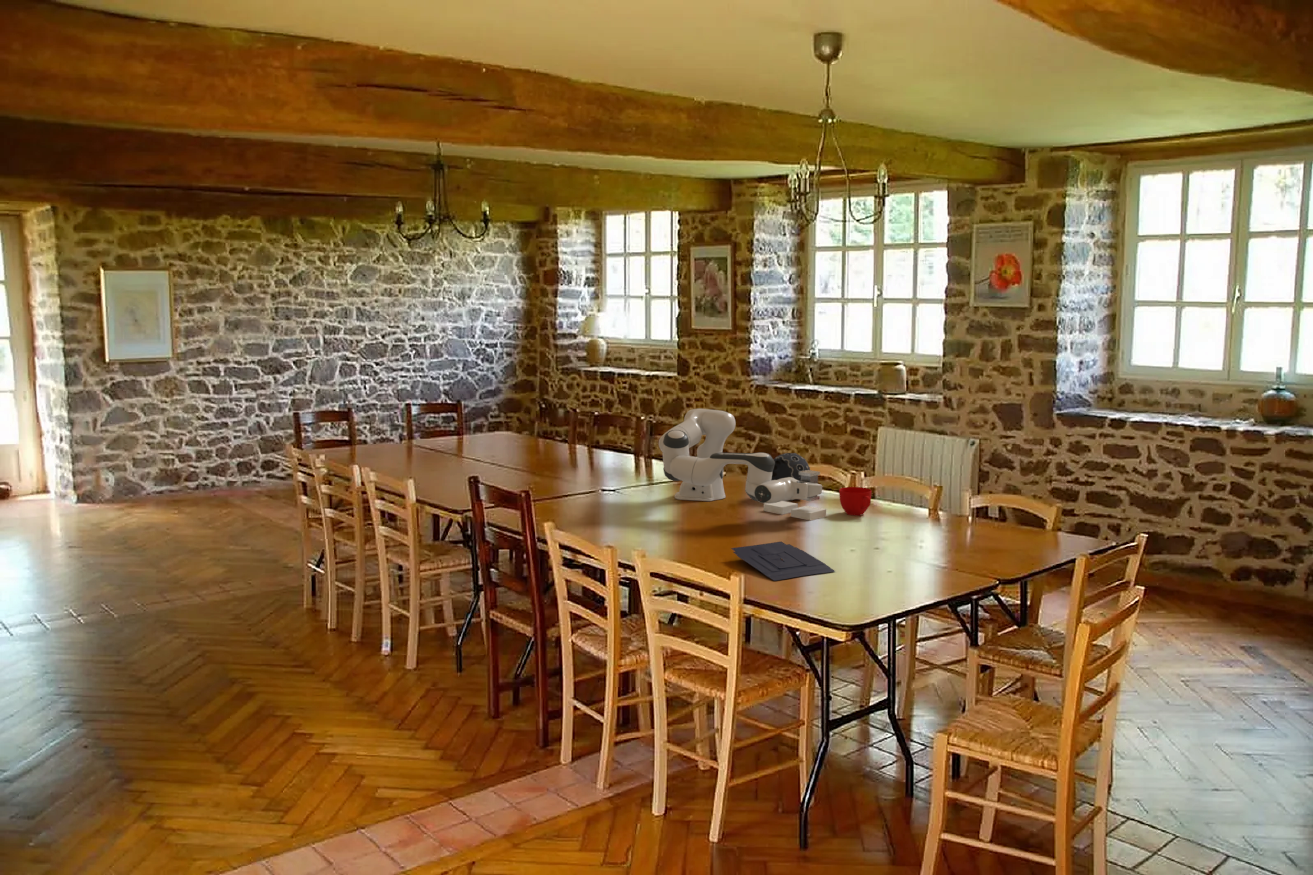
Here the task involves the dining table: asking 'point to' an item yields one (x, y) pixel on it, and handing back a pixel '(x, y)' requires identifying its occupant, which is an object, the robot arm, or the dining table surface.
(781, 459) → the dark grey rounded piece
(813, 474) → the housing
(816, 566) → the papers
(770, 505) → the stand
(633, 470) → the dining table surface
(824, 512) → the stand
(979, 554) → the dining table surface
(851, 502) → the ceramic cup
